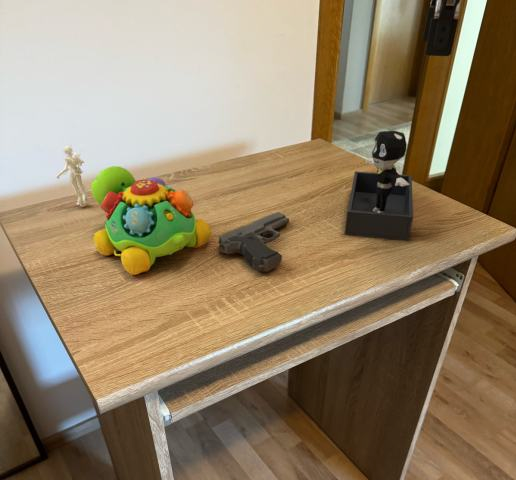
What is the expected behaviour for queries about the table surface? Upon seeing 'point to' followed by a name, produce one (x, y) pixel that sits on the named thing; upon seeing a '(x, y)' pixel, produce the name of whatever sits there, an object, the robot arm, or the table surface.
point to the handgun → (255, 242)
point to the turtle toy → (144, 219)
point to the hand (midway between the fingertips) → (435, 47)
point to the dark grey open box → (372, 223)
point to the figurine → (75, 174)
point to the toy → (387, 164)
